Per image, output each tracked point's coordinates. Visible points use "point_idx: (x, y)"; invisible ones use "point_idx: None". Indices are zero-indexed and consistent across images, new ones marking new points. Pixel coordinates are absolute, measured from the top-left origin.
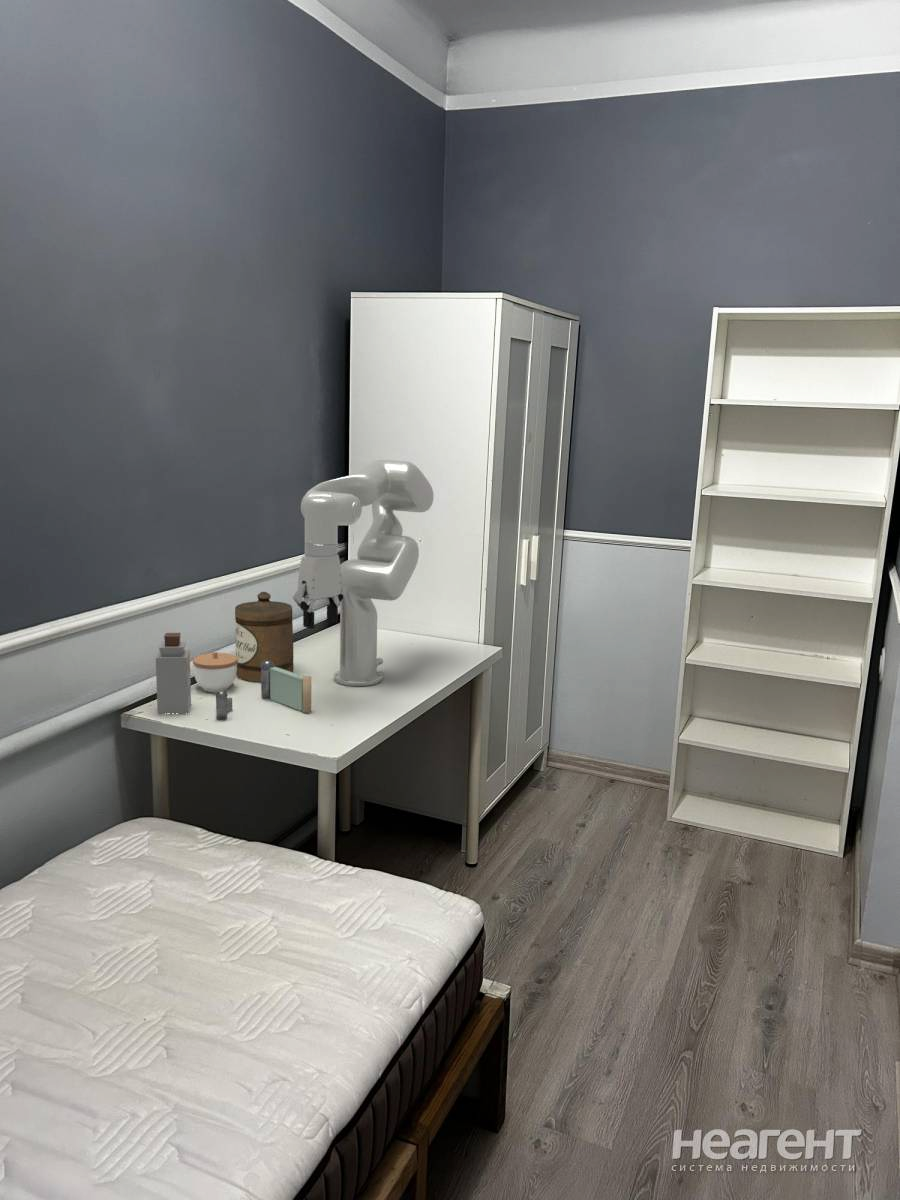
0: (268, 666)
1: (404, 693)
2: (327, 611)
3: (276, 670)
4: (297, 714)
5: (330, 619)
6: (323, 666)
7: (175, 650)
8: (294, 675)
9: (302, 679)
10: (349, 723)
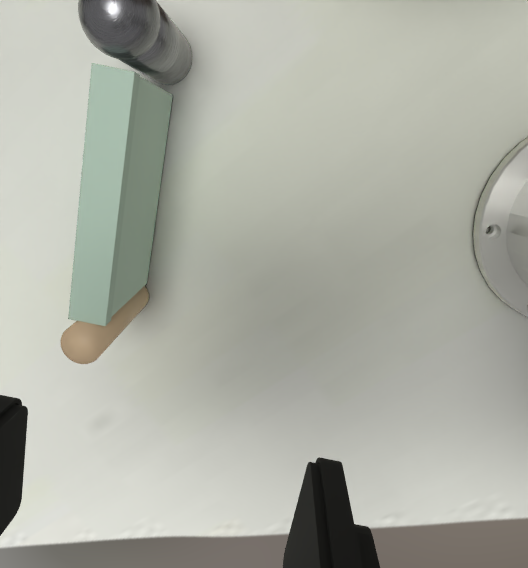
0: (94, 45)
1: (500, 449)
2: (314, 549)
3: (87, 125)
4: None
5: (297, 524)
6: None
7: None
8: (88, 257)
9: (77, 319)
10: (145, 455)
